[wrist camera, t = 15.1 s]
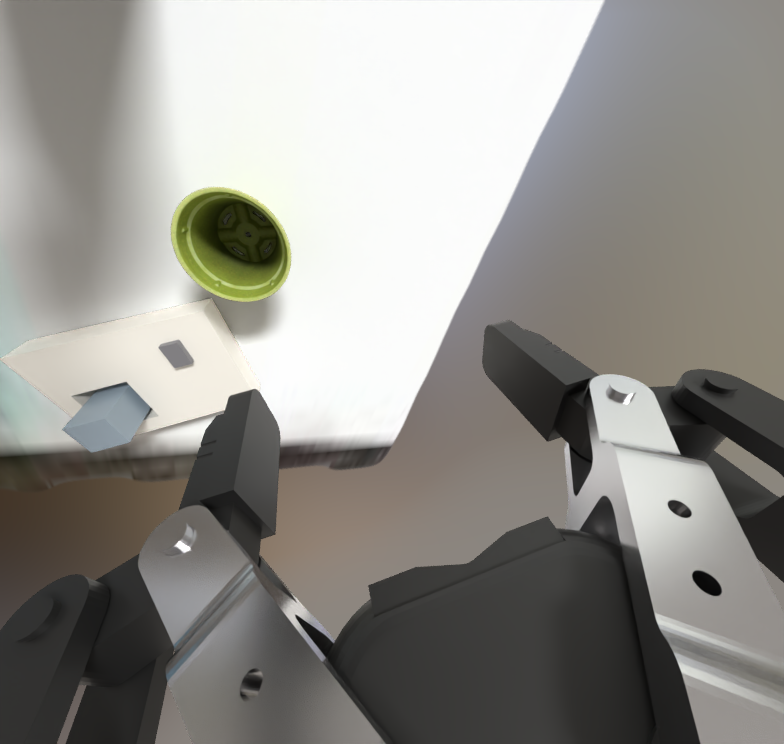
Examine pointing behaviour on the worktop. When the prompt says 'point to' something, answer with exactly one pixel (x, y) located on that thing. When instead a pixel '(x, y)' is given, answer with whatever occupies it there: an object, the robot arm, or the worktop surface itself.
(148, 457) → the worktop surface
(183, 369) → the outlet plate
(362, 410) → the worktop surface
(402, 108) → the worktop surface
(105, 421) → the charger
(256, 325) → the worktop surface
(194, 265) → the plant pot
